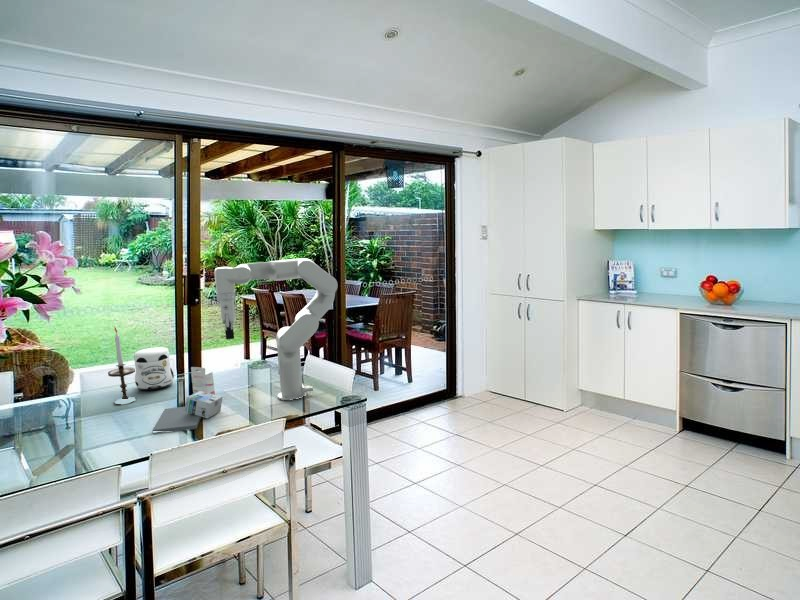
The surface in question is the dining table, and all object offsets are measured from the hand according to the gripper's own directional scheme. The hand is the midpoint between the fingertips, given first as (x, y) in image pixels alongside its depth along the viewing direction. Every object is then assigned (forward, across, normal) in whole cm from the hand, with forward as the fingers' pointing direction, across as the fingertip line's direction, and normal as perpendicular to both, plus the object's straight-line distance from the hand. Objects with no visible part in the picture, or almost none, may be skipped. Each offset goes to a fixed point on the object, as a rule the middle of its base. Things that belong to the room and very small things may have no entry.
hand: (230, 338), depth 241 cm
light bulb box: (+26, -12, +7) cm, 29 cm away
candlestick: (+29, +20, +50) cm, 61 cm away
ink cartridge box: (+29, +14, +15) cm, 36 cm away
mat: (+29, -13, +21) cm, 38 cm away
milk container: (+29, +39, +41) cm, 64 cm away
